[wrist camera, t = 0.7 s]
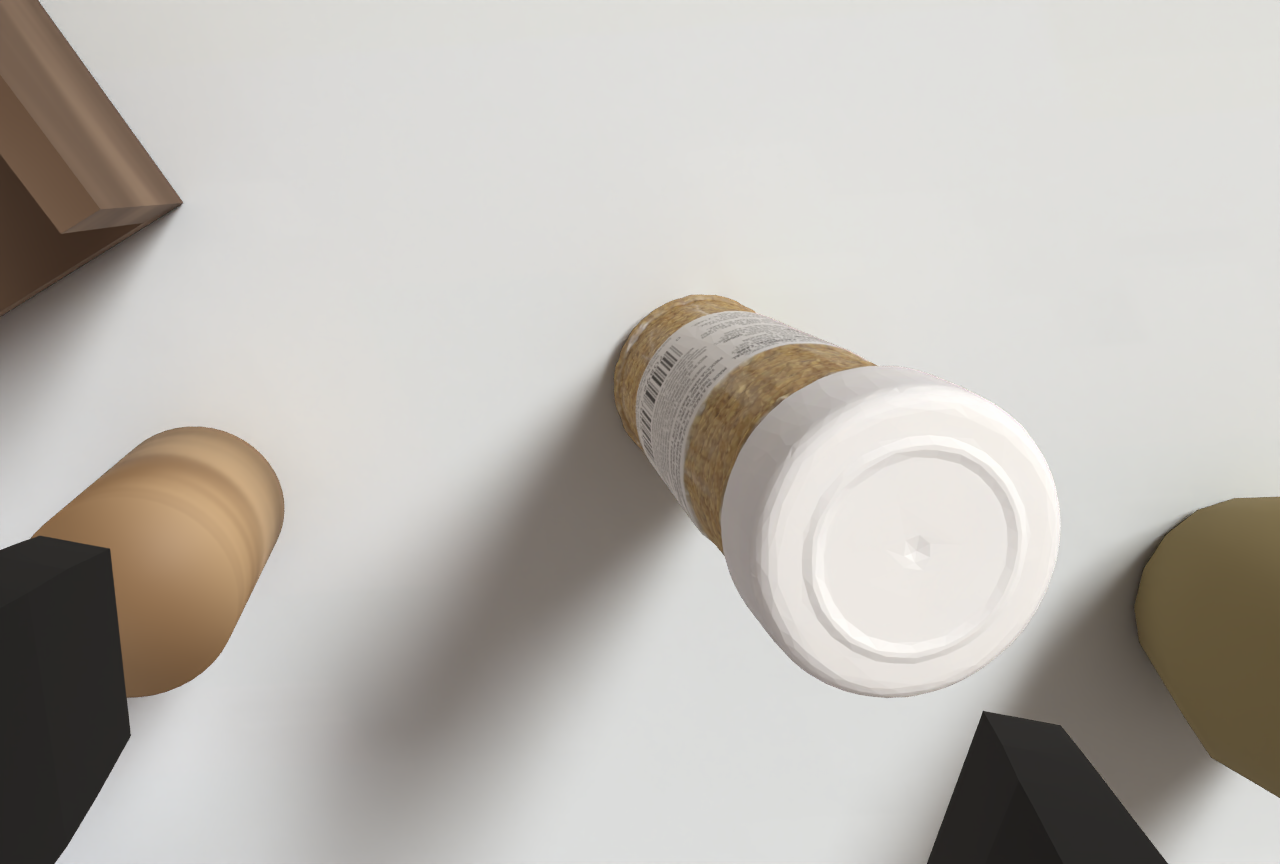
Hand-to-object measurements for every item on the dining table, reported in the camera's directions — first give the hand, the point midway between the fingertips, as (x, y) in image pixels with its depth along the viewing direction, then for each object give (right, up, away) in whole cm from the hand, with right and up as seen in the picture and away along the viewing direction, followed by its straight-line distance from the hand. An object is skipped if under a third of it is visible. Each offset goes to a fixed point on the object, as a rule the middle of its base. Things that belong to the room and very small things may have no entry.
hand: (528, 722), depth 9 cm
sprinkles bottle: (+2, +4, +19) cm, 19 cm away
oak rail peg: (-10, +1, +17) cm, 20 cm away
